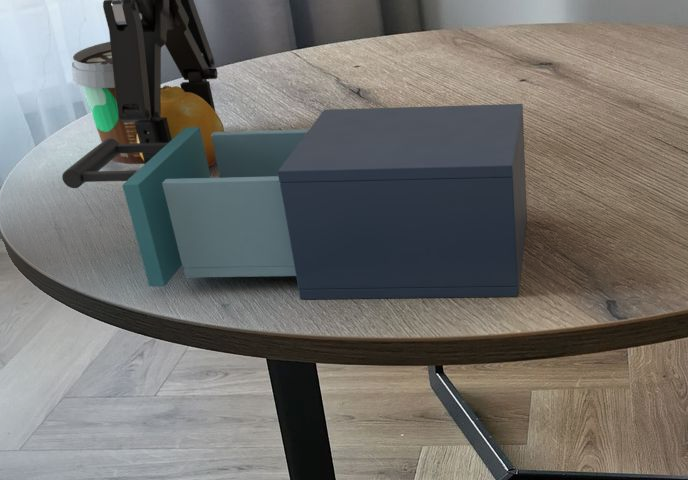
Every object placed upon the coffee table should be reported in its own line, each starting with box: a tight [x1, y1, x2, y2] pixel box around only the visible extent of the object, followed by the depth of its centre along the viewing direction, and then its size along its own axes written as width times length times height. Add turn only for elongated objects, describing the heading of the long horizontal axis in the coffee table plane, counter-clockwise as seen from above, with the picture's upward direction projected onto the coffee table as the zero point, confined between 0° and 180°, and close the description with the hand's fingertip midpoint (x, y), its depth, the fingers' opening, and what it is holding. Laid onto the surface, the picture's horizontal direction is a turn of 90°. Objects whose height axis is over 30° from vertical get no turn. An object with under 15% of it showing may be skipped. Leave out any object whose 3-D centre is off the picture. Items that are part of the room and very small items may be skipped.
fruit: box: [137, 85, 226, 168], centre depth 92 cm, size 8×8×8 cm
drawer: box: [61, 127, 310, 287], centre depth 72 cm, size 20×12×8 cm, turn 86°
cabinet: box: [278, 103, 528, 300], centre depth 71 cm, size 16×14×10 cm
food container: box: [71, 41, 145, 164], centre depth 96 cm, size 12×6×10 cm, turn 16°
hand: (188, 166), depth 93 cm, fingers open, 11 cm apart
